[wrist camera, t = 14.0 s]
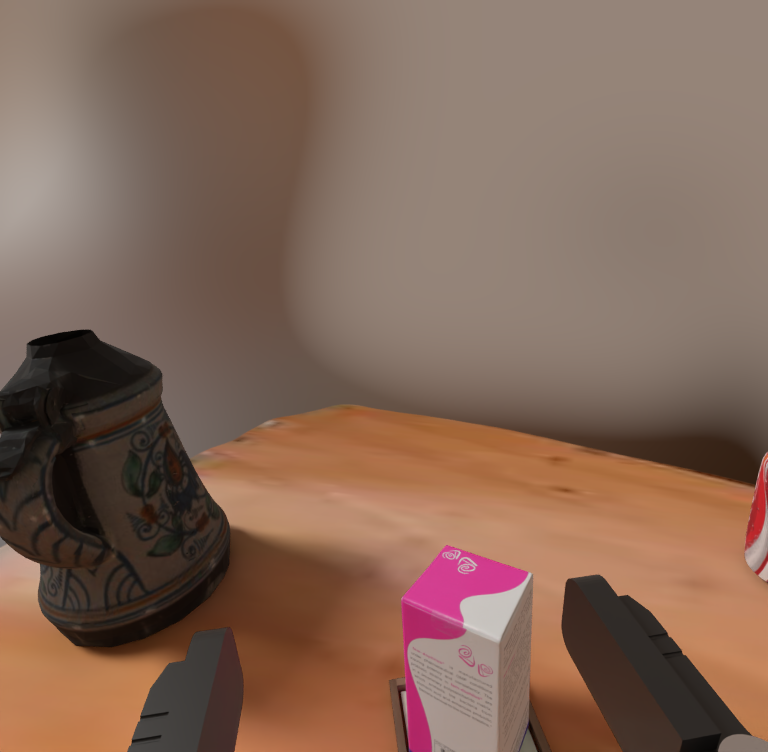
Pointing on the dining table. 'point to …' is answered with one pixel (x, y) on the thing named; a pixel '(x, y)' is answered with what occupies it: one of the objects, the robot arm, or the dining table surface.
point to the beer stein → (104, 493)
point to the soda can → (759, 525)
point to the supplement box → (467, 655)
